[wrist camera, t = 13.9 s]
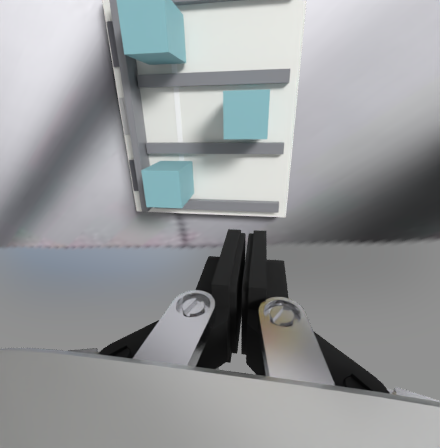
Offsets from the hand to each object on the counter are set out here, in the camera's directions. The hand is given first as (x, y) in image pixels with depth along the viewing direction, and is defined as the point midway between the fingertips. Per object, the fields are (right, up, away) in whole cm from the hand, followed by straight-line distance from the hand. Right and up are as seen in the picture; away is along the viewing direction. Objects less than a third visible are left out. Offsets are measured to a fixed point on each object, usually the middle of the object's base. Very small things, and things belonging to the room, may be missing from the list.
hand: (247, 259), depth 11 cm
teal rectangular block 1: (-7, +20, +14) cm, 26 cm away
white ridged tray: (-3, +15, +19) cm, 24 cm away
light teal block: (+2, +13, +16) cm, 21 cm away
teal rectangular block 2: (-7, +7, +20) cm, 22 cm away
